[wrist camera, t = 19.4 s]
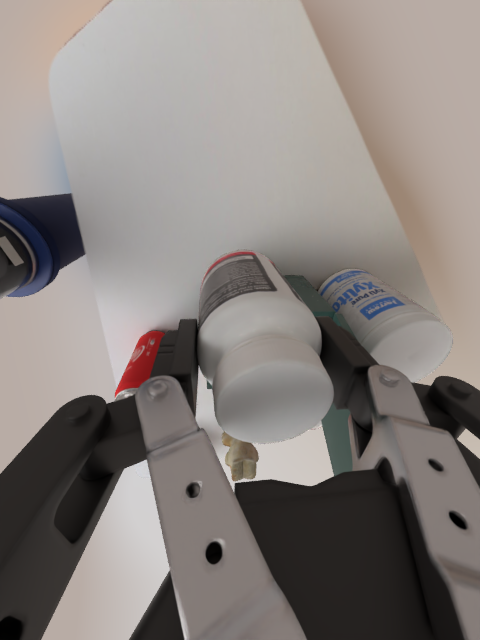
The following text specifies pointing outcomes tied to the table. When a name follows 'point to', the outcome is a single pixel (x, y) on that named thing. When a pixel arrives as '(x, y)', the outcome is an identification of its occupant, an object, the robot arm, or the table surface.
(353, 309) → the supplement tub
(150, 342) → the beverage can
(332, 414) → the bin lid
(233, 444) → the sculpture
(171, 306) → the table surface
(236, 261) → the pill bottle
